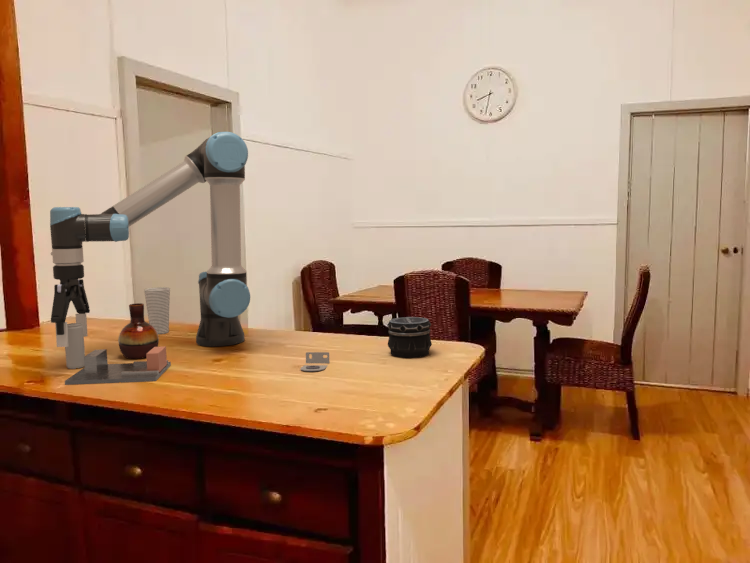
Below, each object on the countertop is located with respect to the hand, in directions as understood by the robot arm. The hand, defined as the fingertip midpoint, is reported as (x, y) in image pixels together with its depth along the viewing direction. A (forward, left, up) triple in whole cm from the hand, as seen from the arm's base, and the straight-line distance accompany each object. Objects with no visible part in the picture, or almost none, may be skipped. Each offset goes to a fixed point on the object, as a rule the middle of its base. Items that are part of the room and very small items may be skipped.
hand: (72, 341), depth 173 cm
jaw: (-25, +10, -6) cm, 27 cm away
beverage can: (0, 0, -8) cm, 8 cm away
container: (-93, -1, -8) cm, 94 cm away
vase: (-14, -11, -8) cm, 20 cm away
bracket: (-66, +10, -8) cm, 68 cm away
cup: (-11, -46, -8) cm, 48 cm away
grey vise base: (-14, +10, -7) cm, 19 cm away
